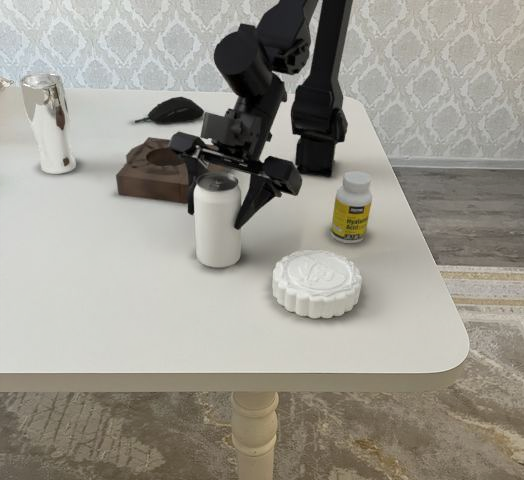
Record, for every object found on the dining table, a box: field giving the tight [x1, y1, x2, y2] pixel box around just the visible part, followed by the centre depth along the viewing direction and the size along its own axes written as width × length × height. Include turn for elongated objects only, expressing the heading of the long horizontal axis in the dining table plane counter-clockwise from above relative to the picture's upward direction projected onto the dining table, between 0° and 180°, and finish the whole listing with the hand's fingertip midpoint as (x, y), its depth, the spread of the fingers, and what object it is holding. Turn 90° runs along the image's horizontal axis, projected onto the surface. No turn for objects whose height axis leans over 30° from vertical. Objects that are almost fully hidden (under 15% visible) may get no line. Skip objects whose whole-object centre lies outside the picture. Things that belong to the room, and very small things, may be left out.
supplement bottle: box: [330, 170, 373, 244], centre depth 89 cm, size 5×5×10 cm
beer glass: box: [19, 72, 77, 175], centre depth 101 cm, size 7×7×15 cm
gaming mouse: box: [134, 96, 205, 125], centre depth 123 cm, size 6×15×4 cm, turn 112°
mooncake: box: [271, 249, 363, 319], centre depth 80 cm, size 12×12×4 cm
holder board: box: [115, 136, 232, 205], centre depth 103 cm, size 17×16×4 cm
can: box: [193, 172, 242, 269], centre depth 83 cm, size 6×6×12 cm
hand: (212, 221), depth 81 cm, fingers open, 7 cm apart
